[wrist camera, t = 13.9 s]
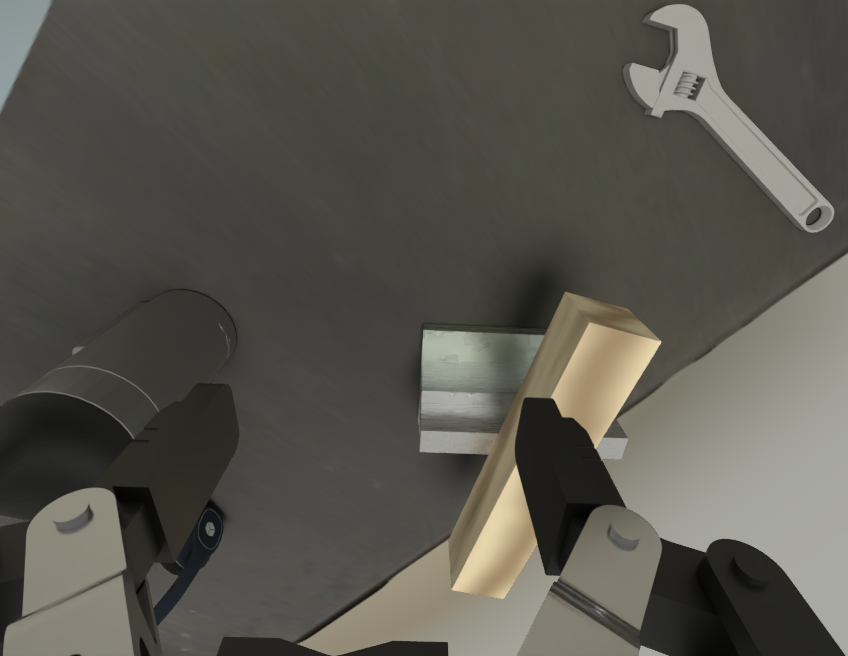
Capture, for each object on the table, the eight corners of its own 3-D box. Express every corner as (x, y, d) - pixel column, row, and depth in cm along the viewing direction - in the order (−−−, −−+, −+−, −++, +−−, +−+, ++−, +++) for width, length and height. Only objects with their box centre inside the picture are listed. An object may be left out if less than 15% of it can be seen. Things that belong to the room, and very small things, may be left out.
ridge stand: (418, 415, 50) (417, 490, 40) (423, 323, 44) (424, 384, 34) (571, 421, 50) (607, 497, 40) (595, 331, 45) (644, 393, 35)
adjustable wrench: (827, 211, 40) (843, 215, 38) (763, 261, 42) (776, 267, 40) (670, -9, 32) (683, -15, 30) (602, 67, 34) (611, 65, 33)
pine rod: (448, 540, 43) (451, 589, 39) (565, 291, 31) (589, 322, 26) (495, 549, 44) (503, 598, 39) (627, 308, 31) (661, 341, 27)
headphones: (209, 486, 55) (120, 645, 38) (239, 520, 58) (167, 681, 41) (85, 525, 58) (-47, 687, 42) (119, 556, 61) (8, 719, 45)
